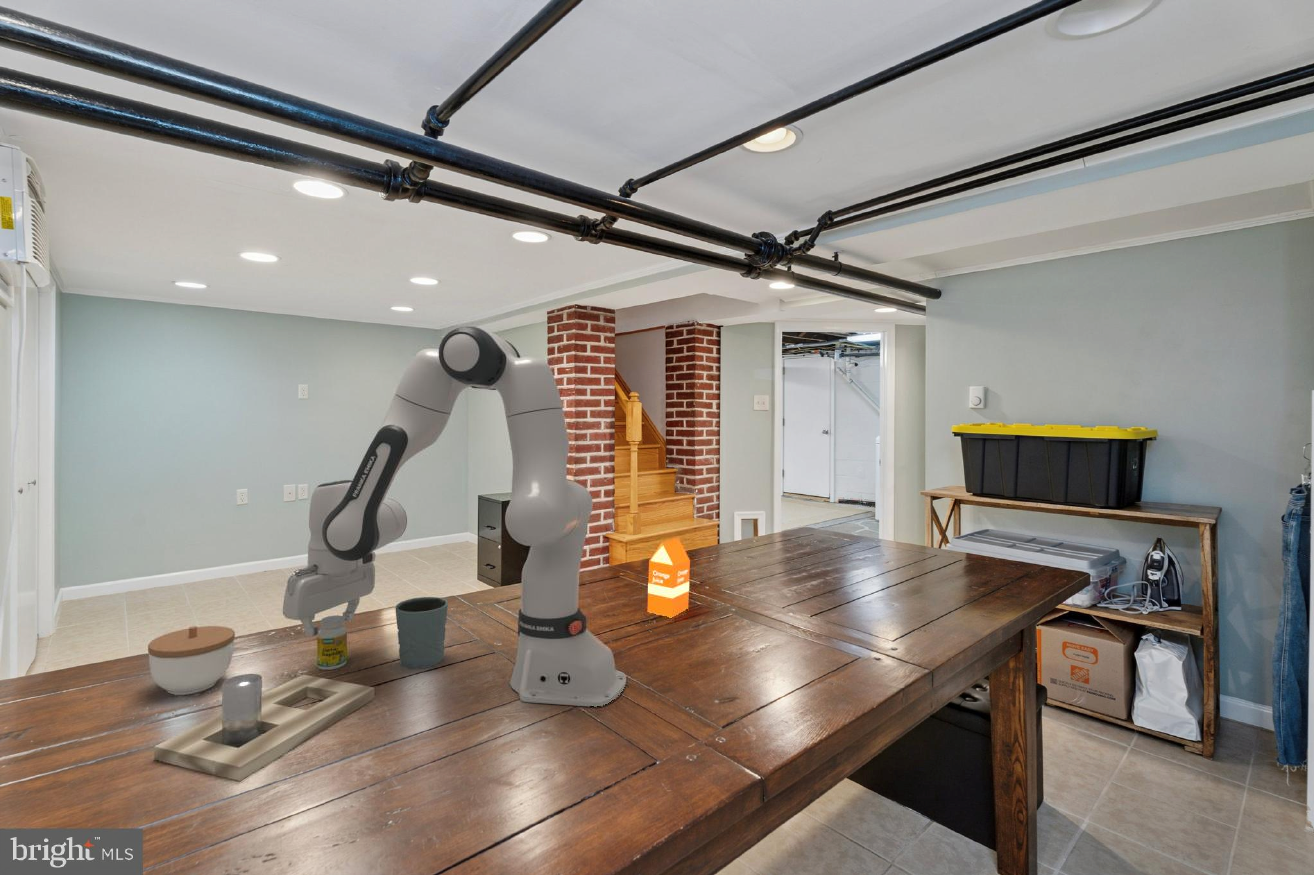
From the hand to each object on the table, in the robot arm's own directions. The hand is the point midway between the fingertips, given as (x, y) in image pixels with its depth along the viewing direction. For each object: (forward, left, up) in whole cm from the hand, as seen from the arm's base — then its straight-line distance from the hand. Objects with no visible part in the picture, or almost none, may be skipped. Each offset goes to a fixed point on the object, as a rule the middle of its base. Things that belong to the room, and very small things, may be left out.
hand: (330, 627), depth 122 cm
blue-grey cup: (-16, -8, -8) cm, 19 cm away
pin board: (-11, +22, -8) cm, 26 cm away
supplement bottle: (-1, 0, -8) cm, 8 cm away
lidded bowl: (+15, +16, -8) cm, 24 cm away
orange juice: (-57, -56, -8) cm, 80 cm away
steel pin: (-11, +28, -8) cm, 31 cm away
